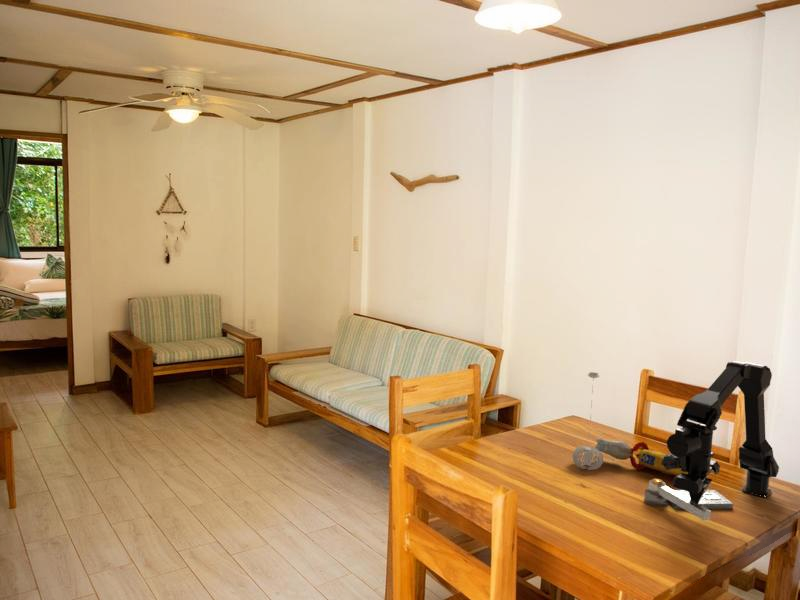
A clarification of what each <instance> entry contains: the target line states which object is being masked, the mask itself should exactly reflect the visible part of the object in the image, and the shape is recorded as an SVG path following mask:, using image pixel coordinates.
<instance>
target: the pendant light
mask: <svg viewBox="0 0 800 600" xmlns="http://www.w3.org/2000/svg"><path fill="white" fill-rule="evenodd" d="M600 376H601V375H599V373H597V372H593V371H592V372H589V373H588V374H587V377H589V378H592V380H594V379H597V378H600ZM593 388H594V386H592V390H591V391H592V392H591V393H593V392H594V389H593ZM592 403H593V401H591V403H590V404H591V406H590V408H592V406H593V404H592ZM589 419H590V422H591V420H592V415H590V417H589ZM588 433H589V434H588V437H590V433H591V430H589V432H588ZM571 456H572V457H571V458H572V461H573V463H574V464H575V466H576V467H578V468H579V469H582V470H588V471H589V470H590V471H593V470H594V471H595V470H597V469H599V468H601V467H602V465H603V464H604V456H603V452H601V451H599V450H598V449H596V448H595V447H594V446H590V444H588V446H587V445H581V446H578V447H576V448H575V449H574V450H573V452H572V455H571ZM592 460H593V461H592ZM587 466H589V467H587Z"/></svg>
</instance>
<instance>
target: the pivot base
mask: <svg viewBox="0 0 800 600" xmlns="http://www.w3.org/2000/svg"><path fill="white" fill-rule="evenodd" d="M643 501H644V502H645V503H646V504H647V505H649V506H653V507H659V508H663V507H667V506H668V504H669V502H668V500H667V499H666V498H664V497H662V496H661V495H656V494H652V493H650V492H649V491H648V488H646V489H645V490H644V499H643Z"/></svg>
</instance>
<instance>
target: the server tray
mask: <svg viewBox="0 0 800 600" xmlns="http://www.w3.org/2000/svg"><path fill="white" fill-rule="evenodd" d="M673 490H674V491H676V492H678V493H680V494H682V495H683V496H685V497H687V498H689V499H690V494H689V492H688V491H685V490H681V489H673ZM668 504H669V505H671V506H672V507H673V508H674V509H675V510H684V509H683V508H681V507H680V506H678V505H676V504H674V503H673V502H671V501H669V500H668ZM698 504H700V505H701V506H703V507H705V508H707V509H709V510H733V509H734V503H733V502H732V501H730V500H729V498H726V497H725V496H724V495H722V493H719V492H718V491H717V490H716V489H707V490H706V491H705V493H704V494H703V496H702V498H701V499H700V501H699V503H698ZM731 508H732V509H731Z"/></svg>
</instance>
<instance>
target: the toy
mask: <svg viewBox="0 0 800 600" xmlns="http://www.w3.org/2000/svg"><path fill="white" fill-rule="evenodd" d="M595 441H596V443H597V444H596V445H595V447H594V448H596V449H598V450H599V451H600V452H601V453H604V454H606V455H609V456H611V457H612V458H614V459H616V460H621V461H623V460H625V461H626V460H628V459H630V460H629V461H630V464H631V466H632V467H633V468H634V469H635V470H637V471H641V470H643V469H644V467H646V468H650V469H651V470H656V471H659V472H662V473H666V474H667V475H673V476H675V477H676V476H677V475H679V474H681V473H684V474H688V472H683V471H681V468H678V469H670V470H665V467H664V466H663V465H662V464H661V463H662V458H663V457H664V456H665V455H666V454H665V453H663V452H660V451H658V450H655V449H649V447H648V445H647V443H646V442H645V441H641V442H637V443H635V444H634V446H633V447H632V448H631V446H630V445H629V444H628V443H627V442H625V441H623V440H620V441H617V440H608V439H603V438H599V437H598V438H597V439H596V440H595ZM639 450H640V453H636V454H635V457H636V458H637V459H638V463H637V461H636V458H635V457H634V453H635V452H637V451H639Z"/></svg>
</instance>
